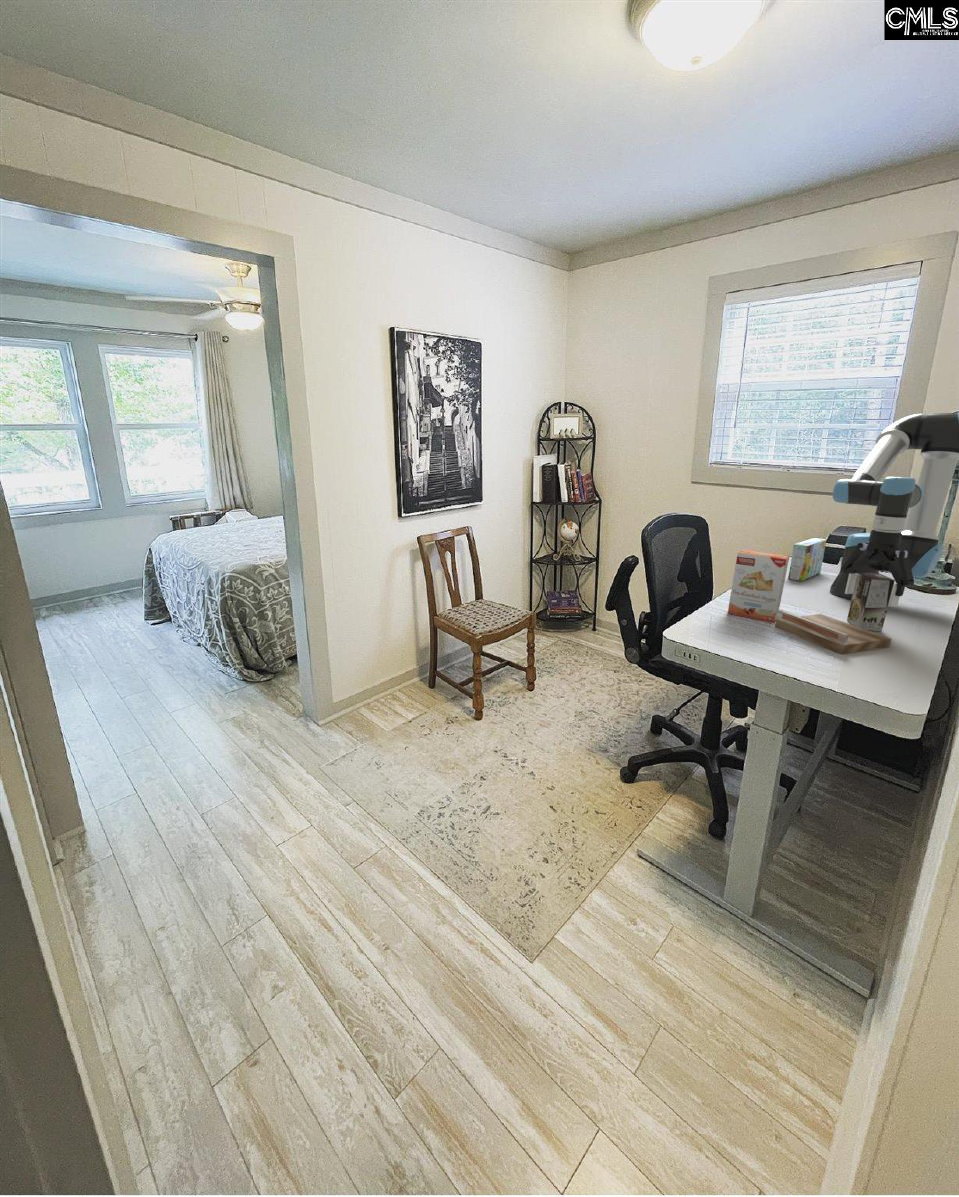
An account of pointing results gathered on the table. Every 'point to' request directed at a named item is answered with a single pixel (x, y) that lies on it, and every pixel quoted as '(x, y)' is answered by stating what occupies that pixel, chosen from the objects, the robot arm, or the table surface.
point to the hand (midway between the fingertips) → (869, 599)
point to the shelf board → (830, 633)
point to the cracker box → (758, 585)
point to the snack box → (807, 559)
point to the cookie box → (870, 601)
